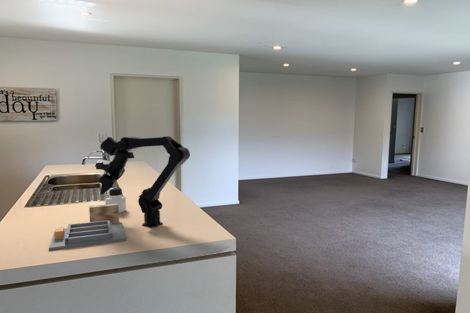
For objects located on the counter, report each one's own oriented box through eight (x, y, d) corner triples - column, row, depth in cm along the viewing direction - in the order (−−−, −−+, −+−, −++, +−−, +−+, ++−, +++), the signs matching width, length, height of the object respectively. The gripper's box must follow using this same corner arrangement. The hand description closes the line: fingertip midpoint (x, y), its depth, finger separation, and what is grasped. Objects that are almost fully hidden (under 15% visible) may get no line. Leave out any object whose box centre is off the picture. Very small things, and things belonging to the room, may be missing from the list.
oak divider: (118, 220, 155) (117, 203, 154) (118, 222, 152) (118, 204, 151) (90, 223, 150) (89, 205, 149) (90, 225, 147) (89, 207, 147)
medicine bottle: (126, 210, 172) (125, 187, 171) (118, 213, 166) (117, 189, 164) (114, 209, 174) (113, 186, 173) (105, 212, 168) (104, 189, 166)
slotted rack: (121, 224, 148) (121, 215, 148) (126, 240, 128) (126, 230, 128) (55, 231, 138) (54, 222, 138) (48, 250, 118) (48, 239, 118)
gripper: (109, 147, 157) (96, 175, 161) (94, 159, 139) (80, 189, 143) (131, 158, 159) (117, 185, 163) (119, 171, 141) (104, 201, 145)
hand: (105, 190), depth 153 cm, fingers open, 9 cm apart
